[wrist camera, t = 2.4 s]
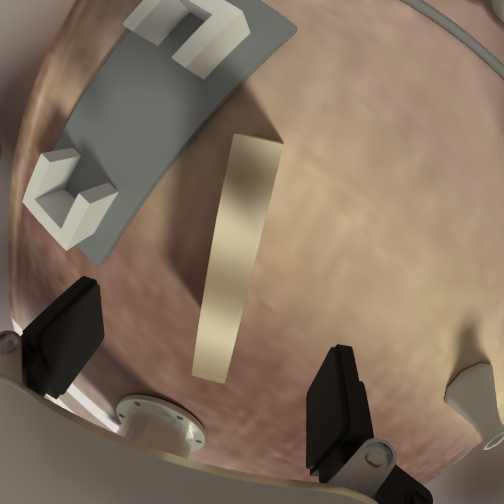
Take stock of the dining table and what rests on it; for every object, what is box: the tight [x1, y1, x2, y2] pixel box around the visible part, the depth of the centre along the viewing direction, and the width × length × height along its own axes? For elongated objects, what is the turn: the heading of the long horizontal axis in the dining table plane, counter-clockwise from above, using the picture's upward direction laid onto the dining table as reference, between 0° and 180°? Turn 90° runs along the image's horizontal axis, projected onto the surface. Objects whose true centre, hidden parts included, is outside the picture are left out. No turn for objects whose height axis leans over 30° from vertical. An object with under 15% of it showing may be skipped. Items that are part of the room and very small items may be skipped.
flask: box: [444, 363, 504, 450], centre depth 22 cm, size 7×7×10 cm
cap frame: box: [22, 0, 297, 267], centre depth 17 cm, size 25×10×5 cm, turn 138°
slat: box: [192, 134, 283, 384], centre depth 20 cm, size 16×2×7 cm, turn 168°
